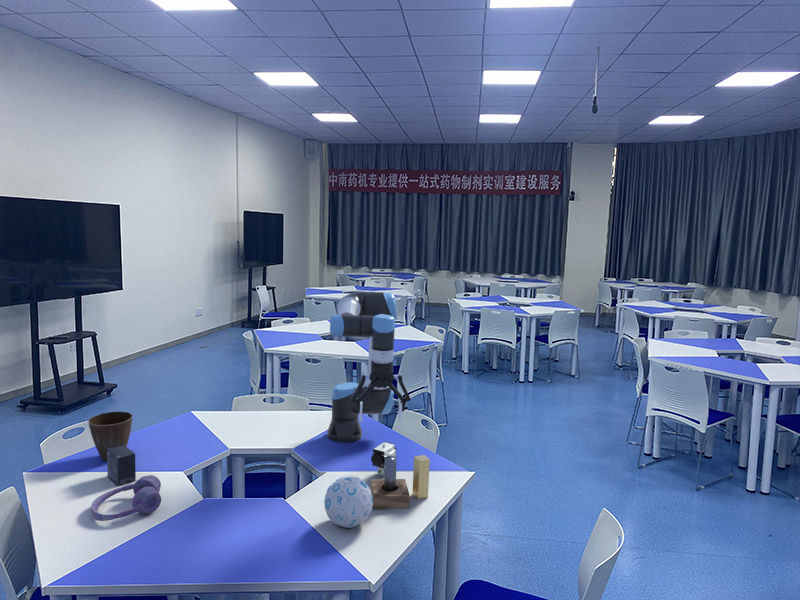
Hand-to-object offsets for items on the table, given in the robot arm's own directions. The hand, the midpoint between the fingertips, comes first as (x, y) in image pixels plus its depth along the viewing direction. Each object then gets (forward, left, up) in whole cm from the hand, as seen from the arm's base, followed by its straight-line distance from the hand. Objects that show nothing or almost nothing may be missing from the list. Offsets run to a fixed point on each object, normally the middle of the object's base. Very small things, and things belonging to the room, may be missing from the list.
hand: (380, 420), depth 189 cm
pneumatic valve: (-13, +3, -27) cm, 30 cm away
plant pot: (-32, -101, -27) cm, 109 cm away
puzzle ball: (+20, -11, -27) cm, 35 cm away
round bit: (+6, +3, -25) cm, 26 cm away
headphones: (+7, -81, -27) cm, 86 cm away
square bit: (+4, +14, -26) cm, 30 cm away
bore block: (+6, +3, -26) cm, 27 cm away
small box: (-14, -91, -27) cm, 95 cm away
